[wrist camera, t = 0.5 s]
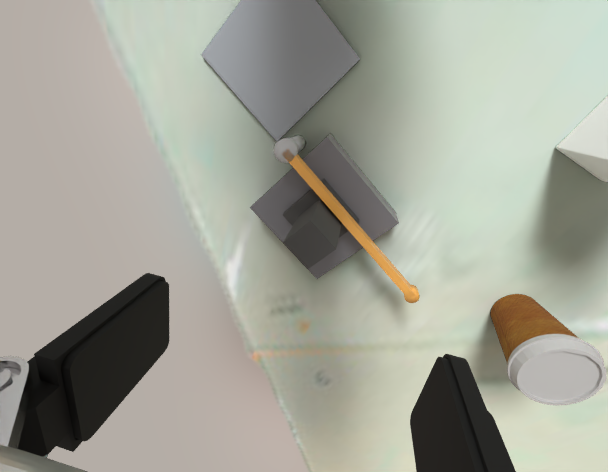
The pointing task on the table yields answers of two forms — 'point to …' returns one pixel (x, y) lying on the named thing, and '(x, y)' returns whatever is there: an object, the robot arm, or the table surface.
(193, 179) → the table surface
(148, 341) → the robot arm
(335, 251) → the socket
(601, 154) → the milk carton
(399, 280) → the orange rod with ball
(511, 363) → the disposable coffee cup
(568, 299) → the table surface
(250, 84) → the mat
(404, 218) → the table surface
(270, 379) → the table surface
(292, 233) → the plug
